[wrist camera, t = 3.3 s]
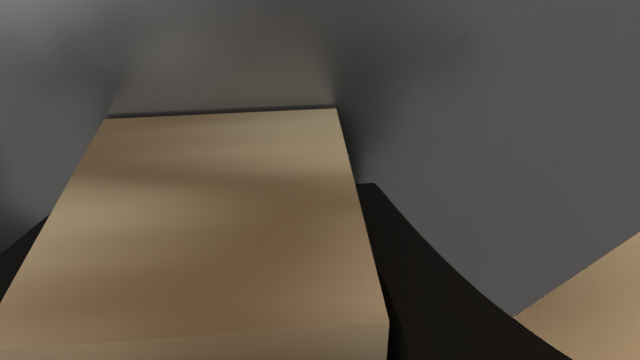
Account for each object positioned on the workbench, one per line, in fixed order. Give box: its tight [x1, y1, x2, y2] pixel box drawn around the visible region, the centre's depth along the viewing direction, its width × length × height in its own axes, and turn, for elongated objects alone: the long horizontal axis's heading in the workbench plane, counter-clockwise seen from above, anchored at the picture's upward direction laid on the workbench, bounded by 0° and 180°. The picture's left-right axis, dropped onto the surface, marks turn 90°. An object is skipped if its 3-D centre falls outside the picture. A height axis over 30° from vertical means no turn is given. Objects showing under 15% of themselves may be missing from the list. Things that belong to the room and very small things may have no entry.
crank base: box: [0, 0, 640, 317], centre depth 11 cm, size 18×16×1 cm
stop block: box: [0, 108, 389, 360], centre depth 9 cm, size 4×4×5 cm
